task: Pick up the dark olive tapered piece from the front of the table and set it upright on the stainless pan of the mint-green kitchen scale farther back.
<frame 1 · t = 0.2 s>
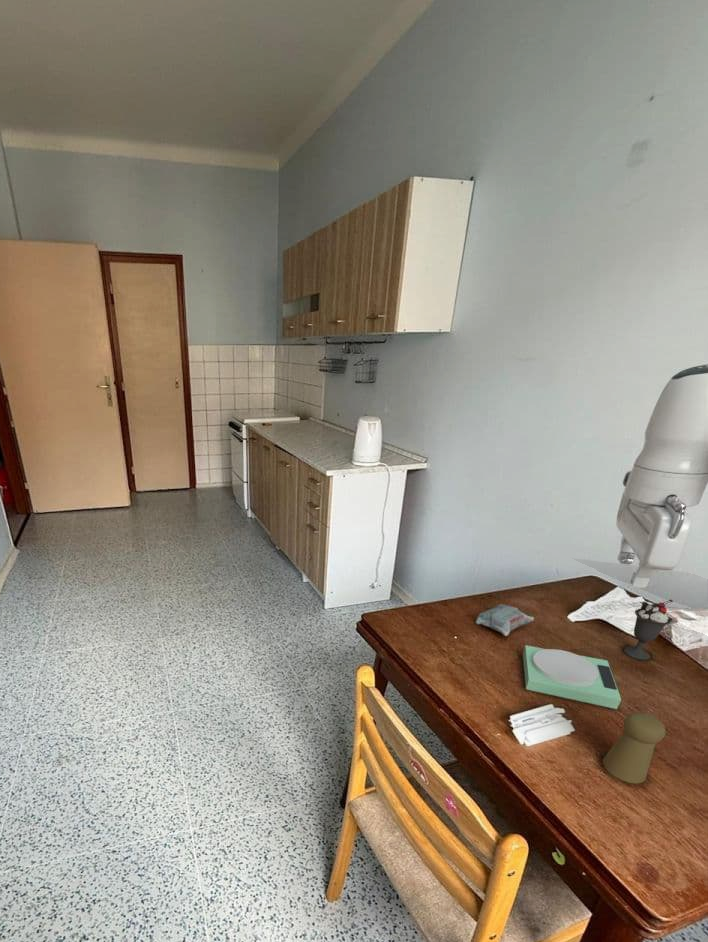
hand: (630, 573, 75), 31 cm above the table, tool pointing down, fingers open, 8 cm apart
sundae: (636, 654, 109), on the table
dark olive tapered piece: (623, 769, 80), on the table
packaged food: (502, 628, 120), on the table
scale: (565, 679, 101), on the table
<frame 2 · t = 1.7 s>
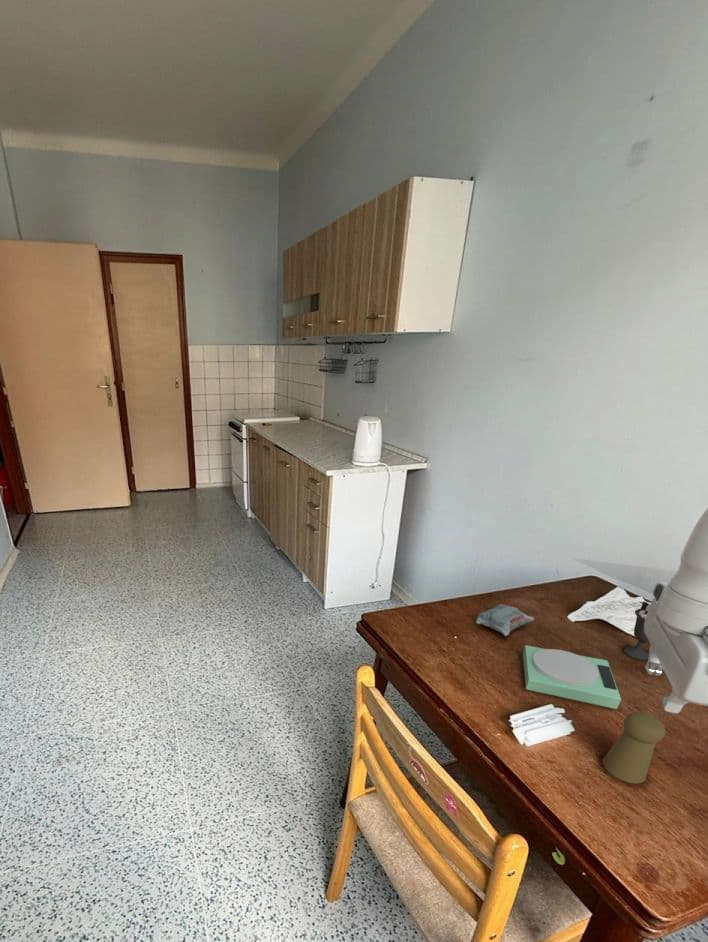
hand: (660, 690, 72), 17 cm above the table, tool pointing down, fingers open, 8 cm apart
nothing on the table moved.
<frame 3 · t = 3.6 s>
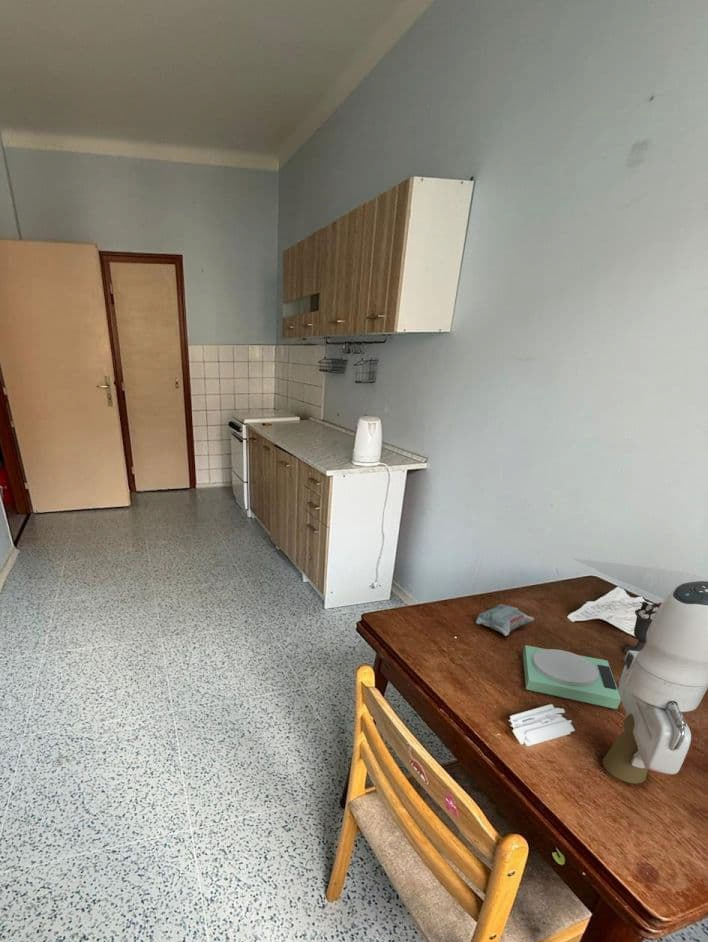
hand: (632, 750, 78), 4 cm above the table, tool pointing down, fingers closed on dark olive tapered piece, 4 cm apart
dark olive tapered piece: (623, 769, 80), on the table, touching gripper
everything else where it was.
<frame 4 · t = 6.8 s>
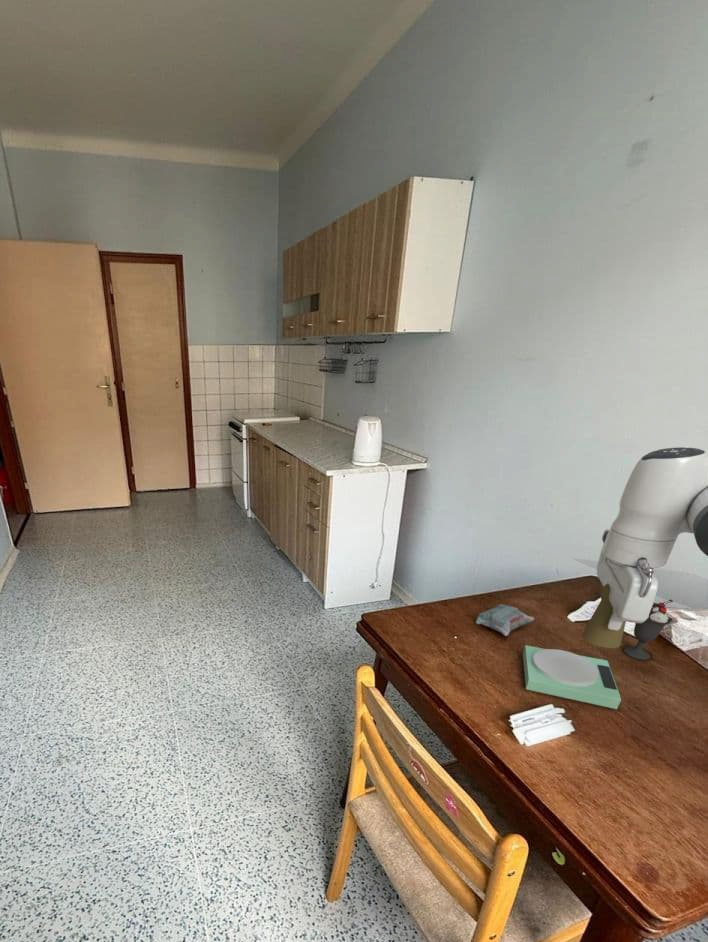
hand: (608, 619, 85), 19 cm above the table, tool pointing down, fingers closed on dark olive tapered piece, 4 cm apart
dark olive tapered piece: (600, 639, 87), point 15 cm above the table, touching gripper
everything else where it was.
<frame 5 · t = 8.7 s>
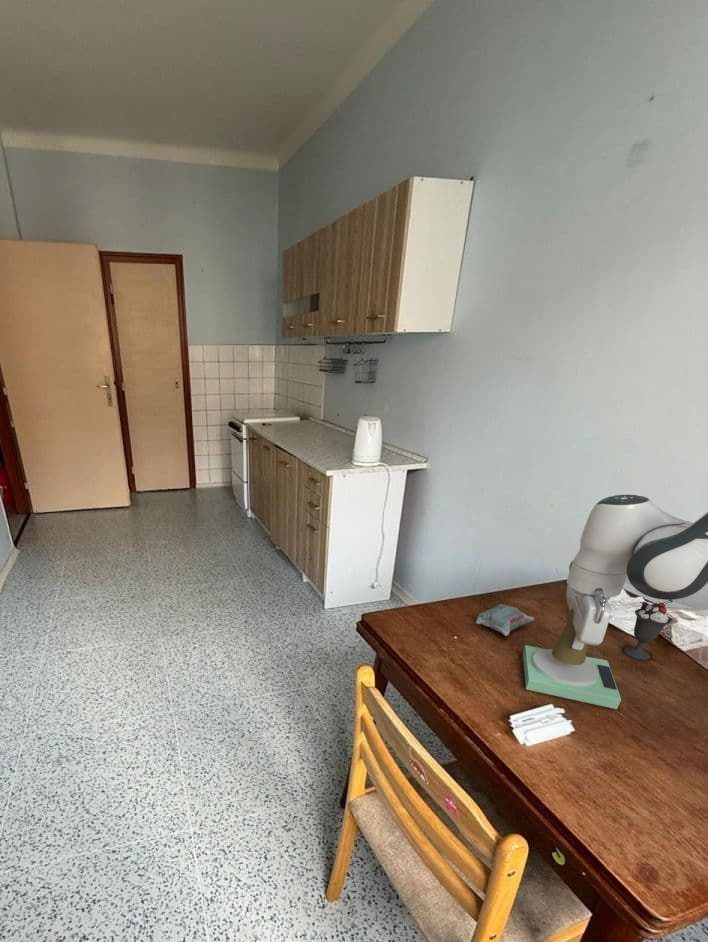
hand: (574, 640, 97), 10 cm above the table, tool pointing down, fingers closed on dark olive tapered piece, 4 cm apart
dark olive tapered piece: (567, 657, 99), point 5 cm above the table, touching gripper
everything else where it was.
when the fingers open (8 cm above the table, at t = 9.9 s): dark olive tapered piece stays where it is, resting on scale.
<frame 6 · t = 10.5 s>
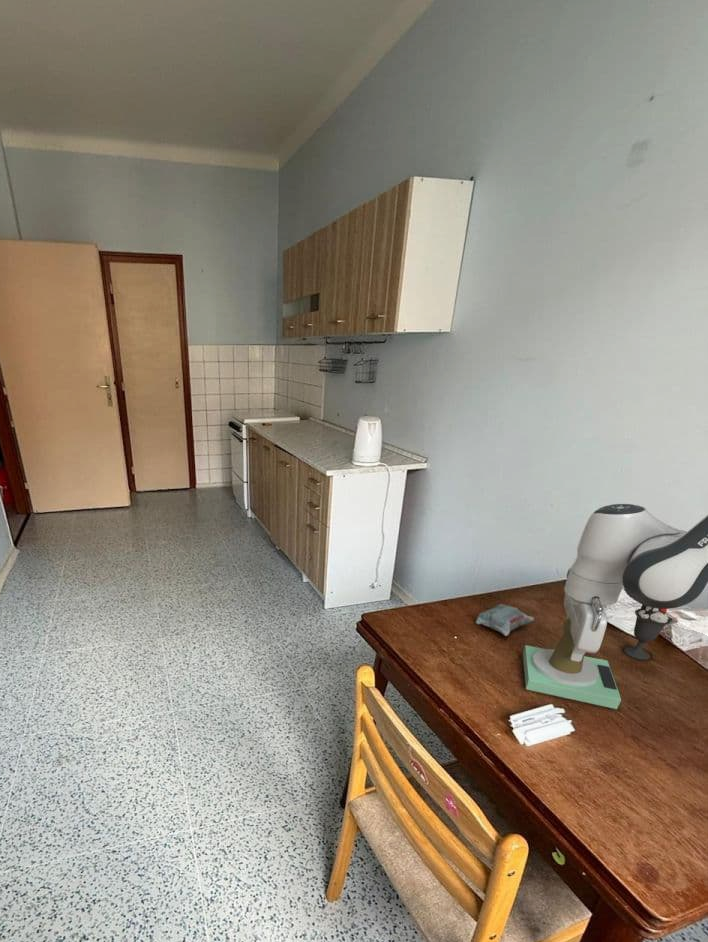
hand: (571, 646, 97), 8 cm above the table, tool pointing down, fingers open, 8 cm apart
dark olive tapered piece: (564, 665, 100), point 3 cm above the table, touching scale
everything else where it was.
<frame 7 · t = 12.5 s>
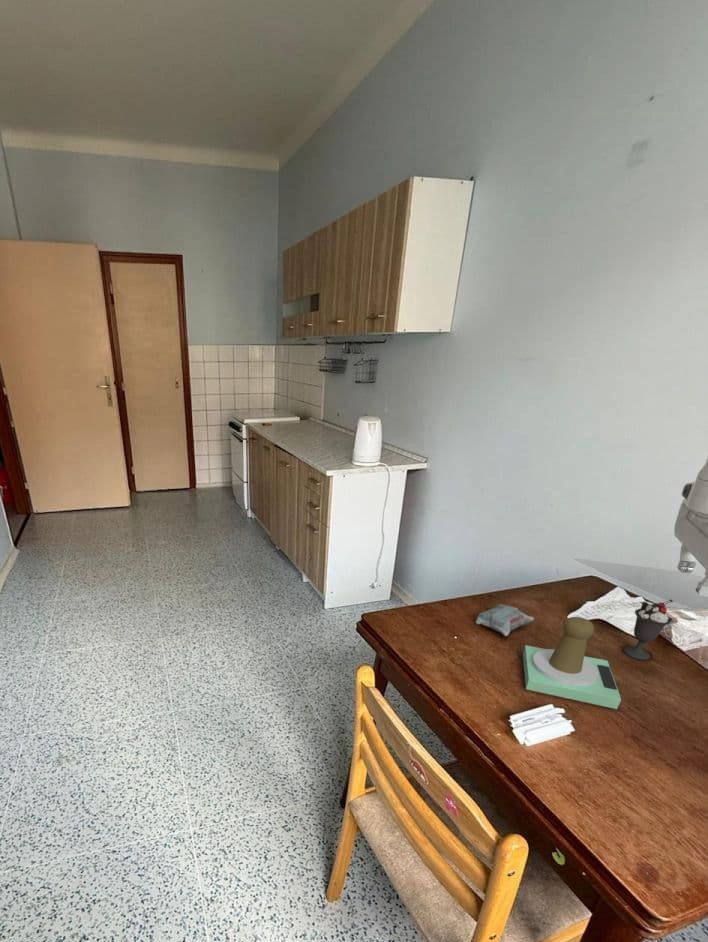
hand: (693, 582, 77), 29 cm above the table, tool pointing down, fingers open, 8 cm apart
nothing on the table moved.
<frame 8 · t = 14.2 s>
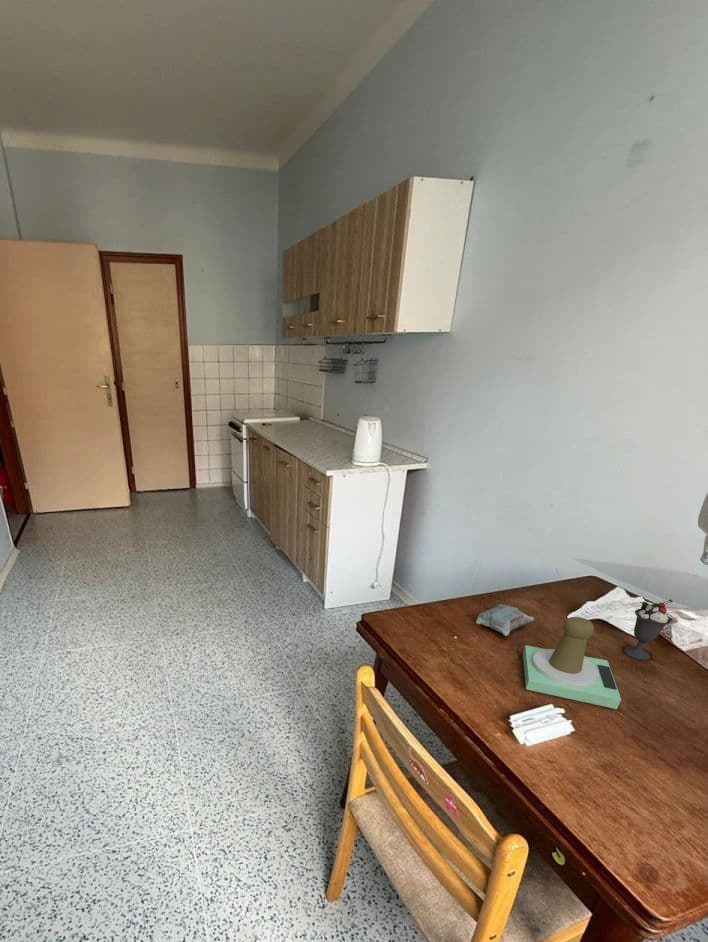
nothing on the table moved.
at the end: dark olive tapered piece inside the target area on the scale (0.1 cm from its centre), point 3.3 cm above the scale's base; dark olive tapered piece tilted 0°; the gripper is holding nothing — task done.
